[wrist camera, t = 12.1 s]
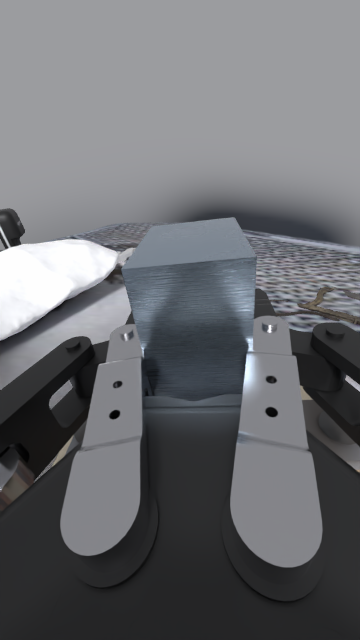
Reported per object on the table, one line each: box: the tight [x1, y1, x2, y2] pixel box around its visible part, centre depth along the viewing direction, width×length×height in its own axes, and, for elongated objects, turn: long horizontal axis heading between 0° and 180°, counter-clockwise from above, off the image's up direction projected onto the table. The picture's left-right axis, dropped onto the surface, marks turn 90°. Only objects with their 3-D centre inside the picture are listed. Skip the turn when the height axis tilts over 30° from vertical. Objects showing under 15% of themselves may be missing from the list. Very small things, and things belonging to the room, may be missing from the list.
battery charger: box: [0, 209, 25, 249], centre depth 52 cm, size 7×4×11 cm, turn 22°
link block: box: [121, 217, 257, 401], centre depth 11 cm, size 4×5×10 cm
